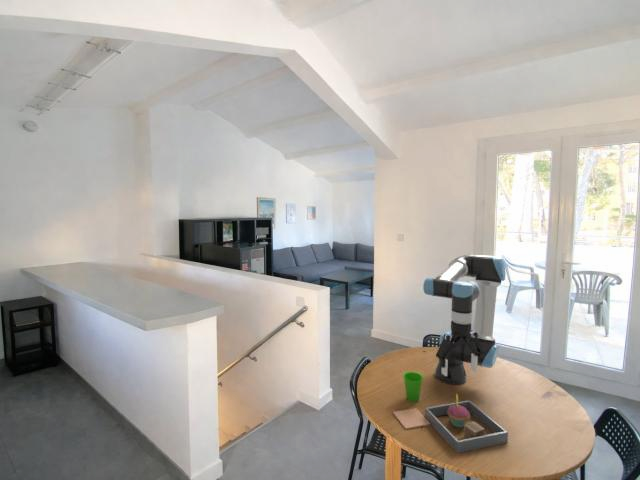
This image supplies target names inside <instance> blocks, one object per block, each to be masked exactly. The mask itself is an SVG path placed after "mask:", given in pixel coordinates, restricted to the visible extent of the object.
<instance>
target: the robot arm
mask: <svg viewBox="0 0 640 480" xmlns="http://www.w3.org/2000/svg"><path fill="white" fill-rule="evenodd" d="M464 277H468V278H469V277H470V278H474V279H475V281H462V280H461V281H459V280H460V279H462V278H464ZM505 280H506V264H505V260H504V258H503V257H500V256H496V255H483V254H481V255H480V254H466V255H465V254H464V255H461V256H458V257H457V258H454V259H453V260H451V261H450V262H449V264H448V266H447V268H445V269H444V270H443V271H441V273H440V274H438V275H437V276H435V277H434V278H433V277H427V278H425V279H424V282H423V286H422V287H423V289H422V290H423V292H424V294H425V295H427V296H432V297H437V298H438V297H440V298H446V299H451V310H450V311H451V313H450V314H451V315H450V318H451V320H450V331H446V332H443V333H441V334H440V336H439V343H438V344H439V346H438V349H437V352H436V353H435V357H436V358H438V362H437V366H436V368H435V371H434V375H435V378H436V379H437V380H439V381H441V382H442V383H446V384H449V385H462V384H464V383H466V382H467V373H466V369H465V366H464V365H465V364H464V363H468V364H470V370H471V371H473V372H475V373H477V372H478V366H479V367H480V368H488V369H490V368H493V367H494V365H495V364H496V361H497V357H498V354H499V347H500V346H499V345H498V344H497V343H496V339H495V338H494V336H493V332H494V323H495V321H494V320H495V312H496V303H497V291H498V287H499V286H500V285H502V282H504V281H505ZM475 300H476V302H475V310H474V320H473V302H474V301H475ZM472 321H474V322H473V330H472Z"/></svg>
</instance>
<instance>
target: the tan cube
mask: <svg viewBox="0 0 640 480" xmlns="http://www.w3.org/2000/svg"><path fill="white" fill-rule="evenodd" d="M485 431H486V429H485V428H484V427H483V426H481V425H480V424H479V423H477V422H475V421H474V420H473V421H471V422H468V423H465V424H464V426H463V437H464V438H465V439H469V438H474V437H479V436H484V435H486V434H485Z"/></svg>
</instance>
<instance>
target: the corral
mask: <svg viewBox="0 0 640 480" xmlns="http://www.w3.org/2000/svg"><path fill="white" fill-rule="evenodd" d="M454 404H456V402H452V403H446V404H441V405H435V406H434V405H433V406H428V407H425V408H424V417H425V418H426V419H427V420H428V422H429V423H430V425H431V426H432V427H433V428H434V429H435V430H436V431H437V432H438V433H439V435H441V437H442V438H443V439H444V440H445V441H446V442H447V443H448V444H449V446H450V447H452V449H453V450H454V452H456V453H457V454H459V453H462V452H469V451H472V450H477V449H481V448H487V447H491V446H497V445H499V444H501V445H502V444H505V443H508V440H509V437H508V436H509V432H508V431H507V430H506V429H505V428H503V426H501V425H500V424H498V423H497V422H496V421H495V420H494V419H493V418H492V417H490V416H489V415H488V414H487V413H485V412H484V411H483V410H482V409H481V408H480V407H478V406H477V405H476V404H474V403H473V402H472V401H471V400H464V401H458V405H461V406H463V407H465V408H466V409H467V410H468V411H469V413H470V414H471V415H473V416H474V417H476V418H477V420H479V421H480V422H481V423H482V424H484V425H485V426H486V427H487V428H488V429H489V430H491V431H492V432H493V433H489V434H485V435H484V436H479V437H474V438H469V439H466V438H465V439H460V440H458V438H456V436H454V435H453V433H451V431H450V430H449V429H448V428H447V427H446V426H445V425H444V424H443V423H442V422H441V420H439V419H438V418H437V417H440V416H445V415H448V414H447V411H448V408H449V407H450V406H452V405H454ZM456 405H457V404H456Z"/></svg>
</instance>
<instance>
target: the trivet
mask: <svg viewBox="0 0 640 480" xmlns="http://www.w3.org/2000/svg"><path fill="white" fill-rule="evenodd" d="M392 413H393V415H394V416H395V418H396V419H397V421H398V422H399V423H400V425H402V427H403V428H404V429H405V430H411V429H416V428H423V427H426V426H428V427H429V426H431V423H430V422H429V421H428V420H427V419H426V418H425V415H423V414H422V412H420V410H418V408H417V407H414V408H410V409H403V410H402V409H401V410H396V411H393V412H392Z"/></svg>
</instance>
